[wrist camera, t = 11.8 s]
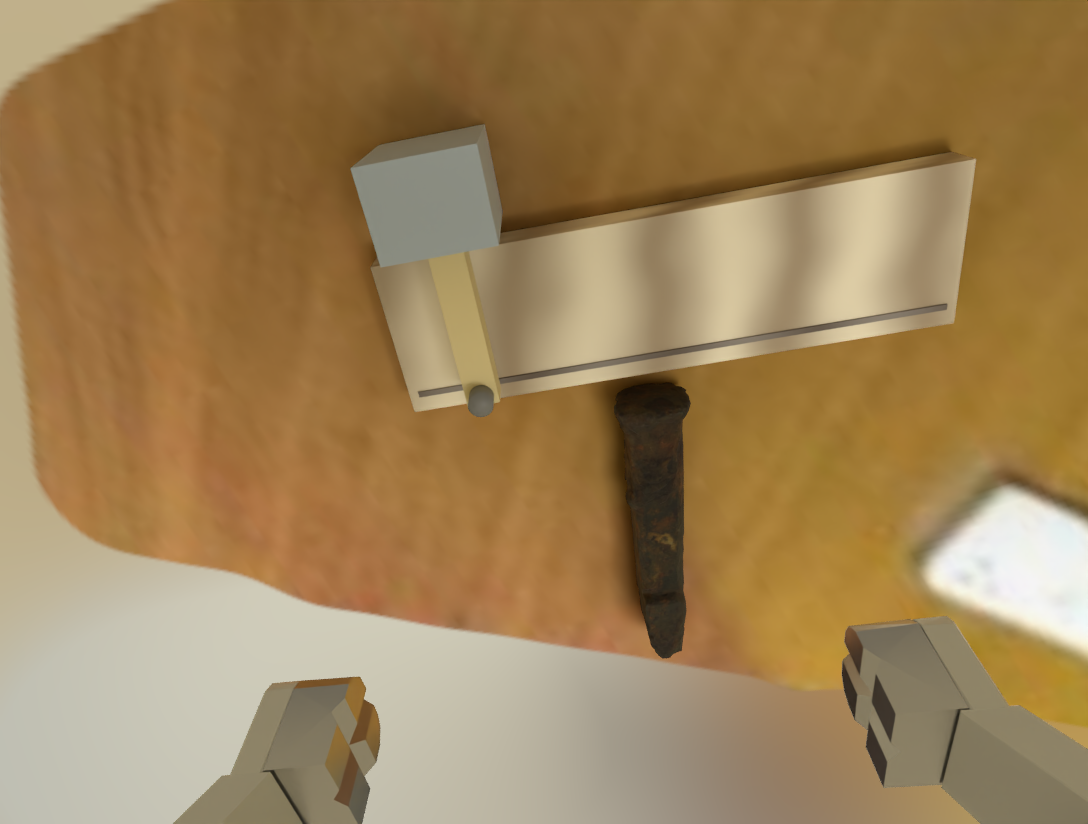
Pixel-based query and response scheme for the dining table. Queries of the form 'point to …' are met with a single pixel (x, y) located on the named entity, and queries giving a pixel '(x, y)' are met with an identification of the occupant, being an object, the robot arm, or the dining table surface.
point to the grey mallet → (440, 233)
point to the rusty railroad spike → (656, 504)
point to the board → (698, 280)
